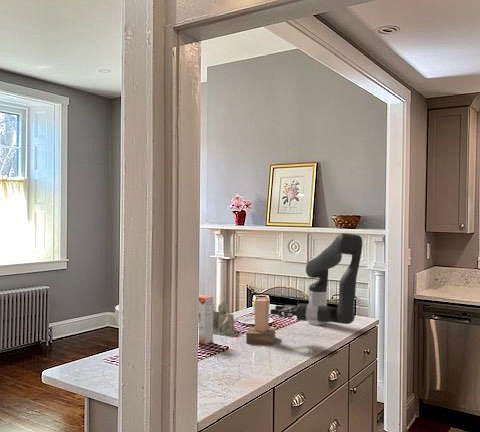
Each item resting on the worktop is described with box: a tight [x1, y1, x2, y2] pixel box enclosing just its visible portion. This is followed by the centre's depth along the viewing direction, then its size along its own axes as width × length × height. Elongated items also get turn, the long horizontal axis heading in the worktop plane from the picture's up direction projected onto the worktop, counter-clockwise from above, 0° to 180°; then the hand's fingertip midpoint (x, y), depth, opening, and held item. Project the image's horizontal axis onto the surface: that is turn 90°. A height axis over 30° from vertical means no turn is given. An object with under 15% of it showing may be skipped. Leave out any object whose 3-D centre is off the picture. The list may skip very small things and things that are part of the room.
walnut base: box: [245, 326, 276, 346], centre depth 226 cm, size 12×12×5 cm
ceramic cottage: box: [213, 298, 236, 336], centre depth 242 cm, size 16×16×15 cm
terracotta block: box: [254, 298, 270, 332], centre depth 227 cm, size 5×5×14 cm
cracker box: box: [198, 294, 214, 345], centre depth 224 cm, size 14×6×21 cm, turn 51°
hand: (273, 309), depth 224 cm, fingers open, 8 cm apart
